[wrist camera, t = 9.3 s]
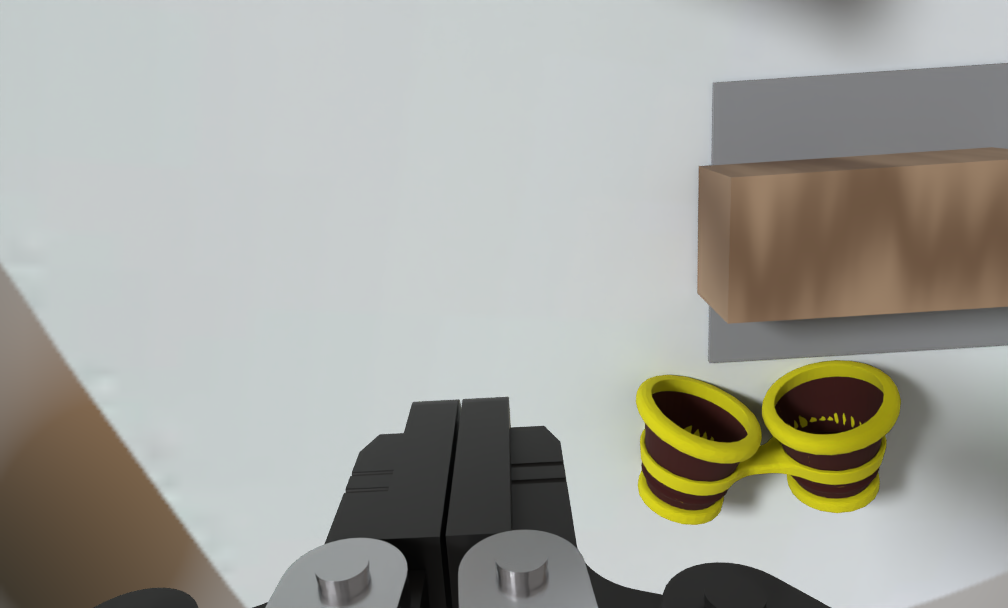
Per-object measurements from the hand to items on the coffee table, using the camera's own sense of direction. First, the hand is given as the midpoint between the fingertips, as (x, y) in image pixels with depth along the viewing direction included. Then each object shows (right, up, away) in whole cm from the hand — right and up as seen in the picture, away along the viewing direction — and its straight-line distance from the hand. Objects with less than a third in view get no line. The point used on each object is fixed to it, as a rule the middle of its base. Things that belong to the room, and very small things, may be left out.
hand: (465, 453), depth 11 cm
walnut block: (+8, +5, +15) cm, 17 cm away
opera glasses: (+11, -3, +19) cm, 22 cm away
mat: (+15, +6, +17) cm, 23 cm away
